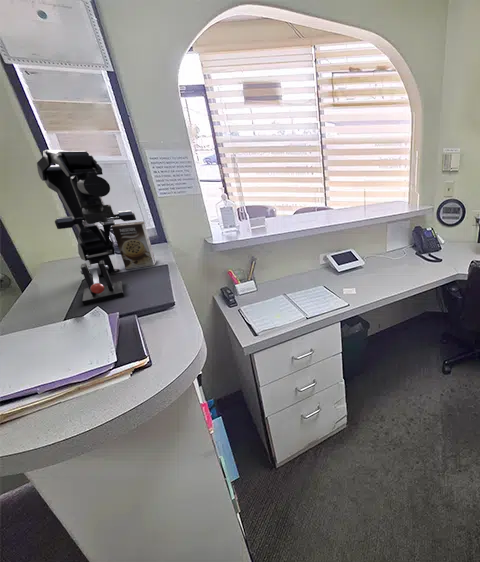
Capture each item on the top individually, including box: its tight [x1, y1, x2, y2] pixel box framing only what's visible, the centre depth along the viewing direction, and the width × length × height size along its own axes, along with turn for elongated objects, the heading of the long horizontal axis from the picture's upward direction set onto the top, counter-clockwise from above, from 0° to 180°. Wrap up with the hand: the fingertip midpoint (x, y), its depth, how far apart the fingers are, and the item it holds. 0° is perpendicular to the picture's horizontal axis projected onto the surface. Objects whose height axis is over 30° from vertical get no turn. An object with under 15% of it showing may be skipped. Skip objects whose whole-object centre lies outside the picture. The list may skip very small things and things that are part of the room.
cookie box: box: [111, 221, 157, 270], centre depth 116 cm, size 9×6×16 cm
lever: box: [87, 263, 104, 294], centre depth 86 cm, size 14×3×3 cm, turn 40°
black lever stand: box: [79, 260, 125, 306], centre depth 91 cm, size 12×9×10 cm
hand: (107, 245), depth 99 cm, fingers closed
